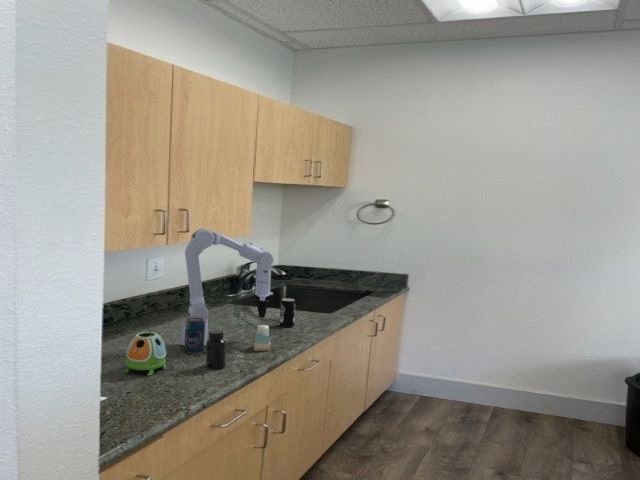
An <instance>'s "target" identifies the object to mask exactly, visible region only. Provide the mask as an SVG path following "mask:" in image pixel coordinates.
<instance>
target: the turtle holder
mask: <svg viewBox="0 0 640 480" xmlns="http://www.w3.org/2000/svg"><path fill="white" fill-rule="evenodd" d="M166 348H167V347H166V345H165V342H164V339H163V336H162V335H160V334H159V333H157V332H154V331H142V332H139V333H136V334H135V337H134V338H132V339H131V341H130V343H129V345H128V346H127V349H126V352H125V365H126V367H127V368H126V369H125V372H126V373H130V372H132V370H134V371H148V372H147V375H146V376H148V377H151V376H153V375H154V374H155V373H154V372H155V370H156V369H159V368H161V370H162V369H164V370H166V369H167V366H166V362H167V360H166V355H167V349H166ZM150 375H151V376H150Z"/></svg>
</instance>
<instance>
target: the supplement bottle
mask: <svg viewBox="0 0 640 480" xmlns="http://www.w3.org/2000/svg"><path fill="white" fill-rule="evenodd" d="M224 334H225V333H224V331H222V330H216V329H215V330H210V331H209V333H208V338H207V342H206V346H205V367H206V368H207V369H209V370H222V369H224V368H226V366H227V341H226V339H224V337H225V336H224Z"/></svg>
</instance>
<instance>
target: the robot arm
mask: <svg viewBox="0 0 640 480" xmlns="http://www.w3.org/2000/svg"><path fill="white" fill-rule="evenodd" d="M212 245H215V246H217V245H223V246H226V247H227V248H230V249H232V250H234V251H237V252H238V254H239V256H240V257H242V258H244V259H246V260H249V261H250V262H253V263H256V276H255V278H256V279H255V292H254V295H255V299H254V300H255V301H254V302H255V304H256V306H257V307H256V308H257V313H258V318H261V319H262V318H263V319H264V318H265V317H266V312H267V308H268V306H269V304H270V300H269V299H270V296H273V295H274V292H272V291H271V278H272V277H271V276H272V265H273V263H274V261H275V259H274V258H273V255H272V254H271V253H270V252H268V251H265V250H264V248H262V247H260V248H259V247H257V246H255V245H253V242H252V243H251V242H250V241H249V242H244V243H240V242H238V241H236V240H235V239H232V238H230V237H228V236H226V235H223V234H221V233H219V232H215V231H212V230H207V229H206V228H199V229H197V230H195V231H194V232H193V233H192V234H191V236H190V240H189V241H188V244H187V246H185V247H186V248H185V249H184V250H185V251H184V255H185V256H184V257H185V263H186V273H187V279H188V280H187V281H188V288H189V307H188V308H187V309H188V313H189V316H190V317H189V318H202V319H203V321H204V323H205V336H204V347H206V342H207V340H208V328H209V326H208V324H209V323H208V322H209V320H208V318H209V315H210V312H209V310H208V308H207V307H206V301H205V298H204V290H203V285H202V284H203V283H202V274H201V273H202V272H201V267H200V266H201V265H200V257H199V256H200V255H201V254H202V253H203V252H204V251H205V250H206V249H208V248H209V247H211V246H212ZM185 325H186V323H184V324H183V325H182V326H181V330H180V331H181V333H180V334H181V336H180V337H181V338H180V343H179V345H181V346H184V347H185Z"/></svg>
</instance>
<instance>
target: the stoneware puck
mask: <svg viewBox="0 0 640 480" xmlns="http://www.w3.org/2000/svg"><path fill="white" fill-rule="evenodd" d="M269 331H270V326H269V325H267V324H257V326H256V332H257V334H258V335H268V334H269V335H270V332H269Z"/></svg>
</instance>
